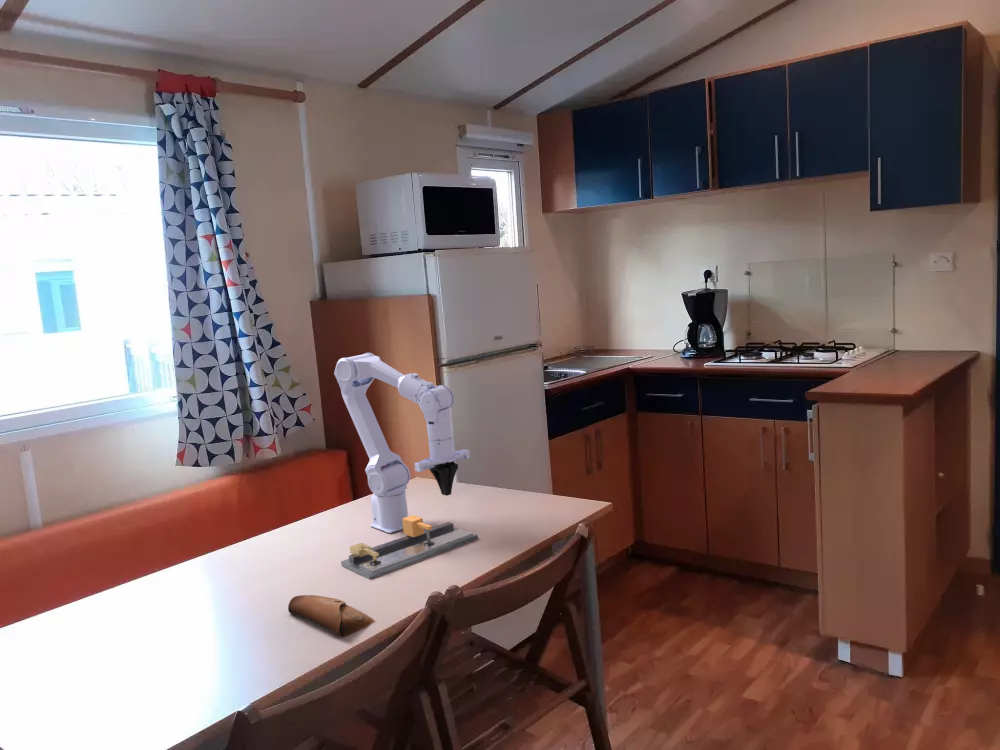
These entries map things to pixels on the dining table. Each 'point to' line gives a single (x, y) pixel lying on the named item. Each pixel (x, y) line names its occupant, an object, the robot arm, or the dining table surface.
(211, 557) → the dining table surface
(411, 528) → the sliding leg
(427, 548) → the board
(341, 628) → the sunglasses case
